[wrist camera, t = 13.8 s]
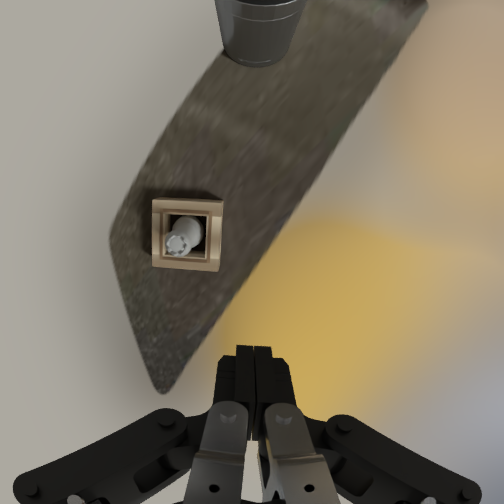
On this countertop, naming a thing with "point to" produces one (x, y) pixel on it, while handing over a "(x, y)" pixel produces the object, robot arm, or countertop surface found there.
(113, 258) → the countertop surface
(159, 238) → the socket block
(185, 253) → the rook chess piece
